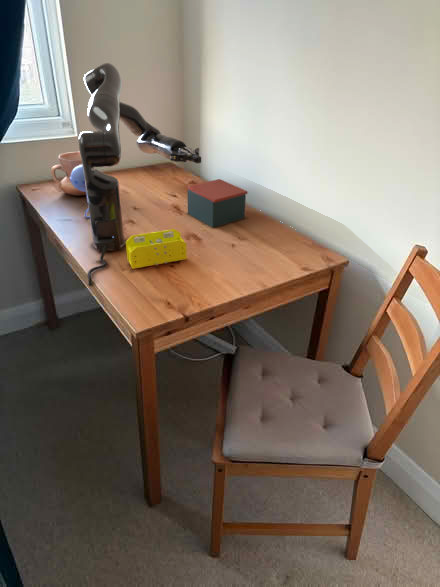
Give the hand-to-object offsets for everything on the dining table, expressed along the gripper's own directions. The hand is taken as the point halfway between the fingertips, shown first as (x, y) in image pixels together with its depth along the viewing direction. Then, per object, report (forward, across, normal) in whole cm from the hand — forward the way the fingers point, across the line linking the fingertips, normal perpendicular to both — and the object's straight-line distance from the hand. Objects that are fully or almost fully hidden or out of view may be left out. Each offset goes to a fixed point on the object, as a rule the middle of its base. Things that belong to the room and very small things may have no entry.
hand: (199, 160), depth 157 cm
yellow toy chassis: (+27, -34, +17) cm, 47 cm away
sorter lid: (+10, 0, +8) cm, 13 cm away
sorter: (+10, 0, +17) cm, 20 cm away
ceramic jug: (-39, -29, +17) cm, 52 cm away
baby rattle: (-14, -37, +17) cm, 43 cm away
